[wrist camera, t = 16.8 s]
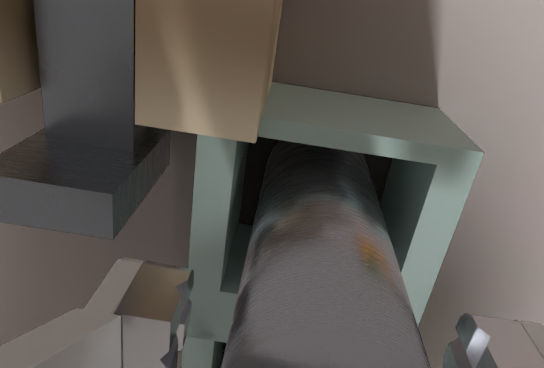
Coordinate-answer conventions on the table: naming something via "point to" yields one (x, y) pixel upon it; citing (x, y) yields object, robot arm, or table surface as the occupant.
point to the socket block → (174, 62)
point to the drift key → (83, 126)
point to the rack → (338, 135)
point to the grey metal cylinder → (321, 271)
